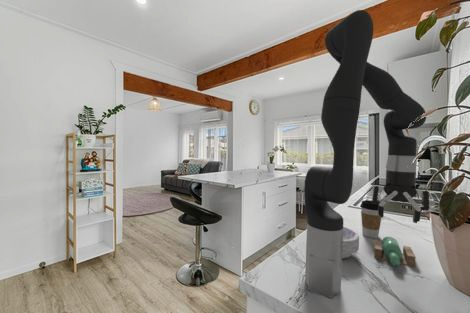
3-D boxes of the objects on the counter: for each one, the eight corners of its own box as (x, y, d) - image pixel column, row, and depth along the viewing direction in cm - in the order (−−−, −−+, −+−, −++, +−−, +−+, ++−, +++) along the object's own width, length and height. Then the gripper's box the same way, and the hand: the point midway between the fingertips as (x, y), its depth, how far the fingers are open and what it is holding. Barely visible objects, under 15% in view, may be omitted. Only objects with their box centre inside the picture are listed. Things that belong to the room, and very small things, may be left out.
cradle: (414, 266, 68) (415, 257, 68) (374, 257, 74) (374, 248, 74) (409, 256, 75) (410, 247, 75) (373, 248, 81) (373, 239, 81)
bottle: (399, 251, 78) (406, 271, 65) (382, 249, 80) (386, 268, 67) (397, 237, 78) (404, 255, 65) (381, 236, 80) (384, 253, 67)
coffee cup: (357, 235, 93) (358, 201, 92) (361, 229, 99) (363, 198, 98) (380, 241, 87) (381, 205, 86) (383, 235, 93) (385, 201, 92)
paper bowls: (304, 246, 82) (304, 226, 81) (334, 240, 87) (334, 221, 87) (335, 267, 68) (336, 243, 67) (368, 259, 73) (369, 236, 73)
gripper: (374, 169, 68) (372, 218, 68) (434, 172, 60) (430, 228, 61) (373, 167, 74) (371, 212, 75) (427, 170, 67) (423, 220, 67)
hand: (397, 219), depth 68 cm, fingers open, 8 cm apart
